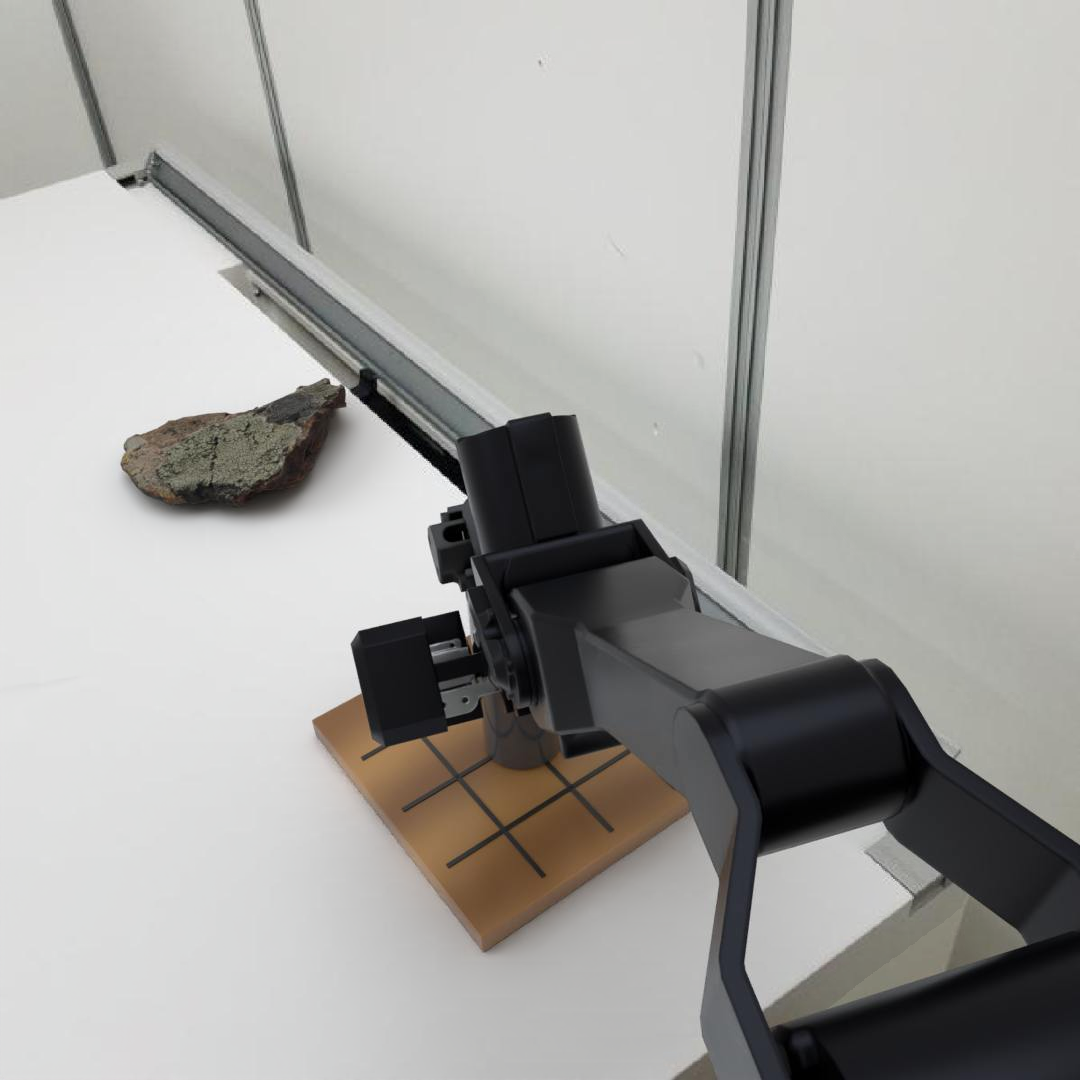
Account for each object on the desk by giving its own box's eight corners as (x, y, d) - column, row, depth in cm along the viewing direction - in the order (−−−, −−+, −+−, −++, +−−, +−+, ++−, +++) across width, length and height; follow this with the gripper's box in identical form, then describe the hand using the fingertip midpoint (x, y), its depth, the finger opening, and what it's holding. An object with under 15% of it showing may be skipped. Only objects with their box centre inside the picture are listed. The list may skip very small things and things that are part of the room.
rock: (110, 540, 93) (92, 491, 90) (133, 422, 106) (117, 376, 103) (357, 506, 95) (347, 457, 92) (349, 394, 108) (341, 347, 105)
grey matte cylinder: (548, 777, 71) (537, 625, 62) (472, 759, 72) (451, 609, 64) (572, 718, 74) (564, 567, 66) (499, 702, 76) (483, 552, 67)
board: (746, 773, 72) (747, 756, 71) (483, 953, 64) (481, 937, 63) (555, 603, 85) (554, 587, 84) (315, 734, 76) (310, 718, 75)
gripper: (697, 443, 57) (624, 491, 72) (324, 525, 54) (329, 556, 69) (753, 663, 56) (666, 664, 72) (377, 760, 53) (371, 739, 68)
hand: (510, 651), depth 70 cm, fingers closed on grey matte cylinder, 5 cm apart
